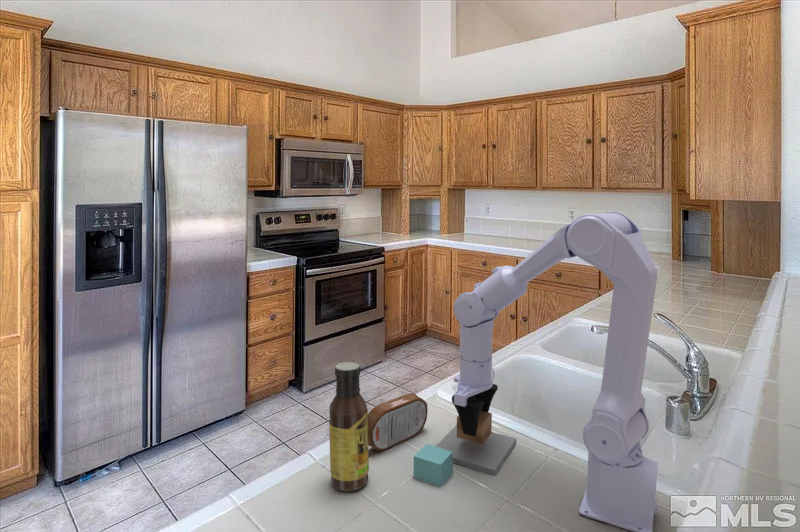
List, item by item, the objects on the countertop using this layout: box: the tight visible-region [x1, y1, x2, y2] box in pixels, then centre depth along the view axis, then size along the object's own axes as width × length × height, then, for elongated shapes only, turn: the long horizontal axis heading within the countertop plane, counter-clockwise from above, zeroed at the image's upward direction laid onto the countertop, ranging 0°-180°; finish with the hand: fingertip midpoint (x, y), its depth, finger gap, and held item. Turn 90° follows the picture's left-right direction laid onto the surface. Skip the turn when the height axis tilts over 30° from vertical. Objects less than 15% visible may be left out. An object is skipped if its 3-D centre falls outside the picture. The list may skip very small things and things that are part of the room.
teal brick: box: [413, 443, 454, 488], centre depth 80 cm, size 5×4×4 cm
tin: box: [368, 392, 428, 452], centre depth 90 cm, size 15×3×8 cm, turn 132°
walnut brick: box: [456, 411, 493, 444], centre depth 87 cm, size 5×4×4 cm
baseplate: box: [435, 424, 517, 476], centre depth 88 cm, size 12×12×1 cm
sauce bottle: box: [328, 361, 370, 492], centre depth 77 cm, size 6×6×20 cm
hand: (474, 428), depth 87 cm, fingers closed on walnut brick, 4 cm apart
